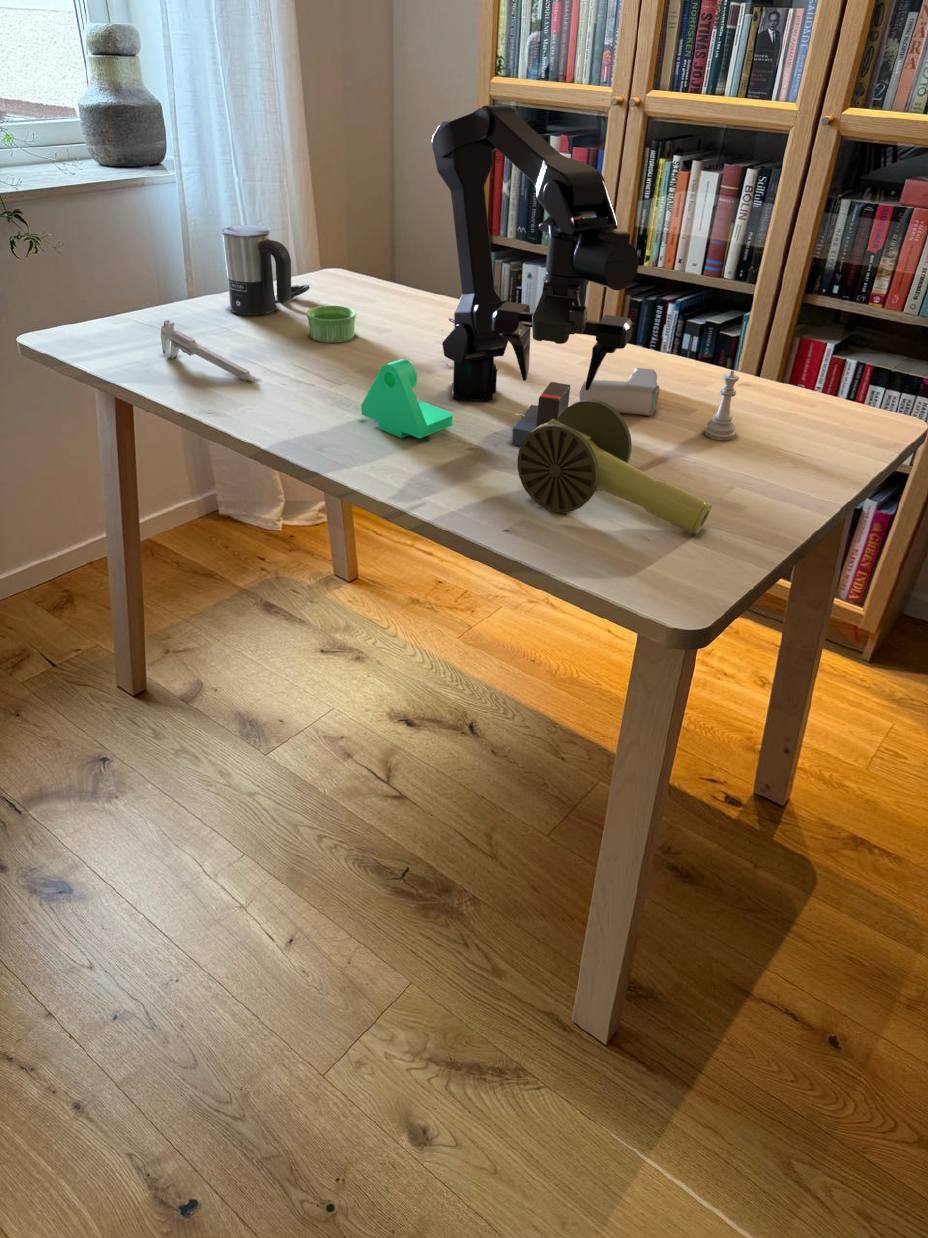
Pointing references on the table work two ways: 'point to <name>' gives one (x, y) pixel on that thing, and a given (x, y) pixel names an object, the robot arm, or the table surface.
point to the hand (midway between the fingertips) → (556, 384)
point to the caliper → (197, 351)
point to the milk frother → (256, 270)
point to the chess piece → (723, 412)
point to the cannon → (597, 467)
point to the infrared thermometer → (626, 392)
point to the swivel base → (525, 425)
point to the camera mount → (402, 403)
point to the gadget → (552, 402)
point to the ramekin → (331, 323)
